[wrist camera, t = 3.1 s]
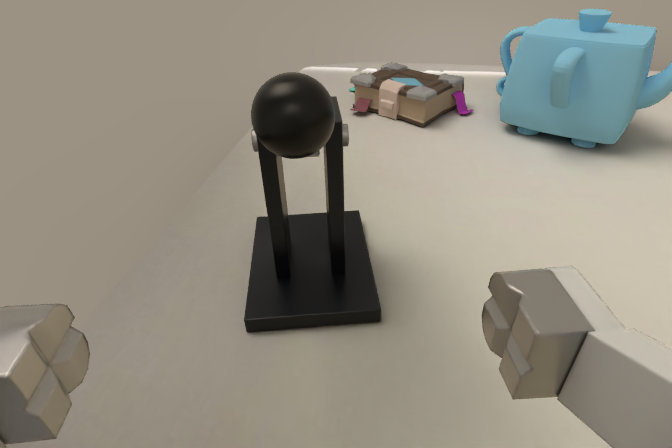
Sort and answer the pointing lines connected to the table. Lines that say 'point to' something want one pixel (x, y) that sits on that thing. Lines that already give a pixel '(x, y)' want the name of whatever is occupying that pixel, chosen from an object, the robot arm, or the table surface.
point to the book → (408, 94)
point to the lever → (293, 115)
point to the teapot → (579, 77)
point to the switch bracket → (309, 253)
